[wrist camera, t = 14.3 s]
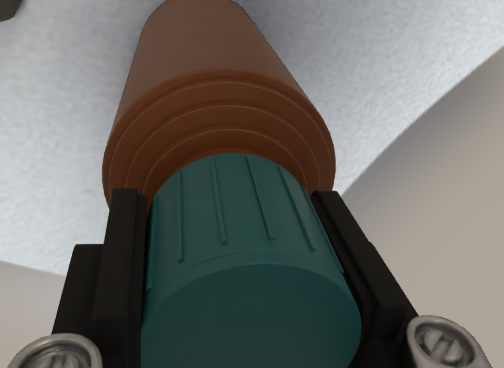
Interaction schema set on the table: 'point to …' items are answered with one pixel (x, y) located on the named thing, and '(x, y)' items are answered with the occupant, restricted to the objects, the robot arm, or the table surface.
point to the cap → (242, 273)
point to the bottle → (211, 102)
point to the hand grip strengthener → (8, 9)
